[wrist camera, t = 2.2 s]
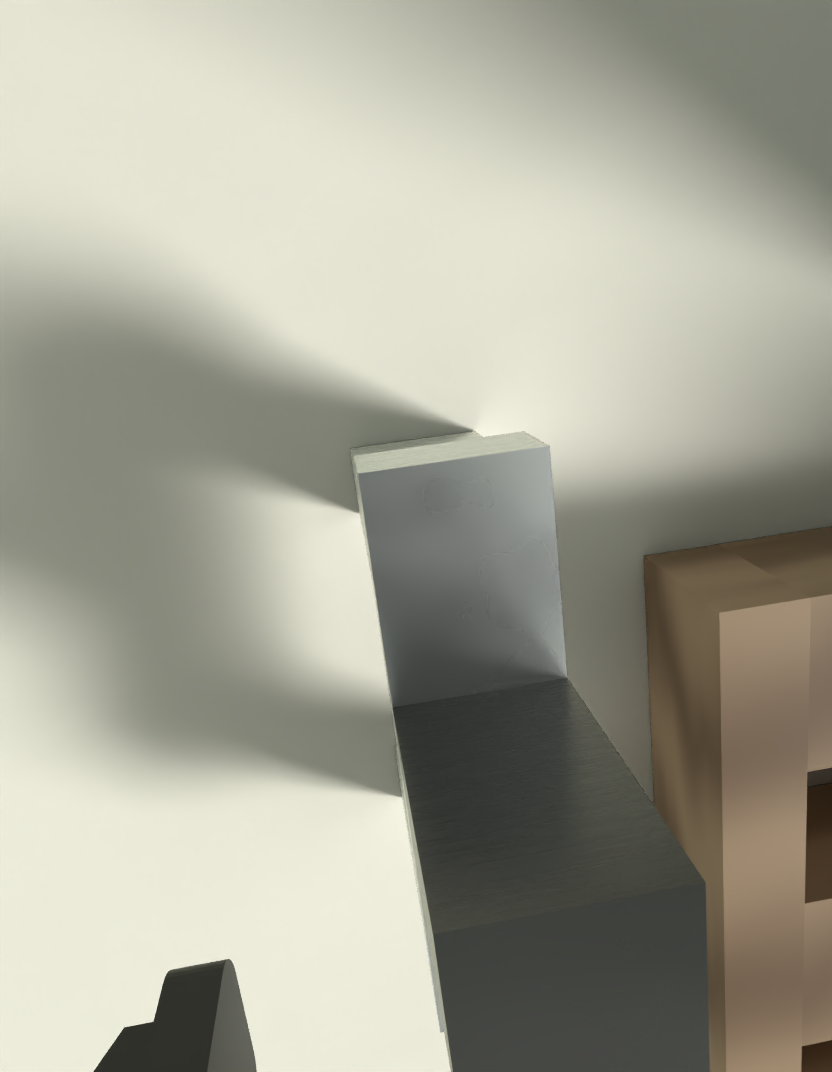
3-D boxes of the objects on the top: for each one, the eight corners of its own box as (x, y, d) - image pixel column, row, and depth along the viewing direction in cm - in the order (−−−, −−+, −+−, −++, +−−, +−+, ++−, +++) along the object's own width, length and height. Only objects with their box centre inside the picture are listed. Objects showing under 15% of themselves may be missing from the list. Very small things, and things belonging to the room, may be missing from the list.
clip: (345, 419, 18) (381, 579, 7) (471, 401, 18) (697, 529, 7) (405, 820, 21) (495, 1367, 10) (513, 800, 22) (715, 1315, 10)
